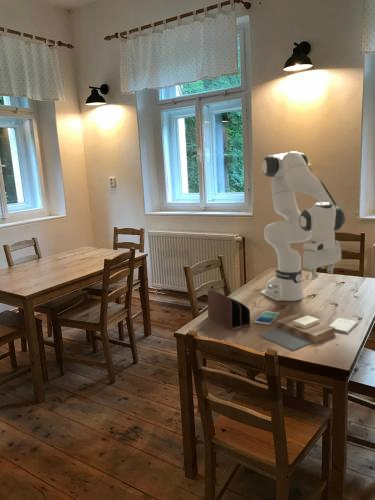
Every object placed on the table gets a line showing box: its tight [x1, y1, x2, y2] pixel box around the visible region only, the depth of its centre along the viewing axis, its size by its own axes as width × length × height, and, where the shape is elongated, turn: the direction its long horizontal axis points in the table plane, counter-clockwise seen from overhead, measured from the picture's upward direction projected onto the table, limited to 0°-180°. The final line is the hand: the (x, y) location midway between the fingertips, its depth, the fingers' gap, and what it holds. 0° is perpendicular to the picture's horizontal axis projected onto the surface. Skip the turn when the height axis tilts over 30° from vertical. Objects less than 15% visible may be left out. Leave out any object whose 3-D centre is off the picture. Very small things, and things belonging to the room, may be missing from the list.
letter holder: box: [207, 289, 251, 332], centre depth 179 cm, size 10×20×14 cm, turn 26°
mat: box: [258, 327, 313, 352], centre depth 160 cm, size 18×11×1 cm, turn 34°
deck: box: [275, 313, 336, 344], centre depth 166 cm, size 20×12×3 cm, turn 34°
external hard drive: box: [329, 317, 358, 335], centre depth 168 cm, size 2×8×12 cm
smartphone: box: [253, 310, 280, 326], centre depth 182 cm, size 8×1×15 cm
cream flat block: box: [293, 314, 320, 329], centre depth 166 cm, size 6×9×2 cm, turn 124°
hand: (322, 275), depth 167 cm, fingers open, 8 cm apart
